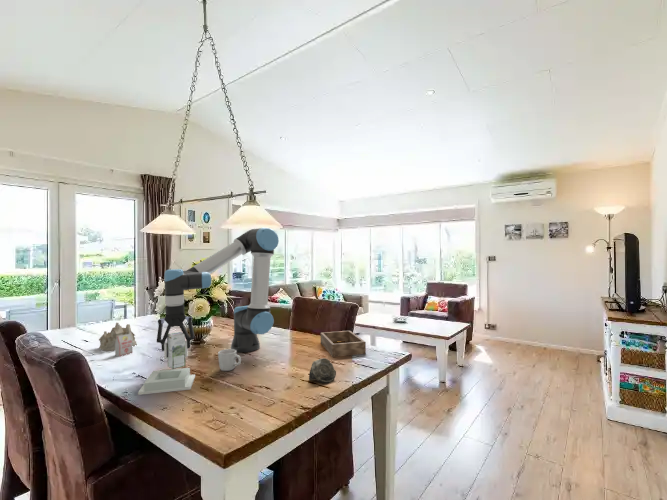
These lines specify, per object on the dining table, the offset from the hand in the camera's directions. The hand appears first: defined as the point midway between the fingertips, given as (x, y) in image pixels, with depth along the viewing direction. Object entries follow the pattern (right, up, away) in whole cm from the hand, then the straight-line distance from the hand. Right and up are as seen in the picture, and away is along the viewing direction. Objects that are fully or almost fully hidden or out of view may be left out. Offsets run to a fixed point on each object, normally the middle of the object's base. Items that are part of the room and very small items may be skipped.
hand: (176, 356), depth 152 cm
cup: (+23, -7, +3) cm, 24 cm away
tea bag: (-40, -8, +28) cm, 50 cm away
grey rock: (-52, -8, +43) cm, 68 cm away
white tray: (+4, -7, -15) cm, 17 cm away
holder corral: (+73, -6, +35) cm, 81 cm away
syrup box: (0, -4, 0) cm, 4 cm away
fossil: (+64, -6, -11) cm, 65 cm away
